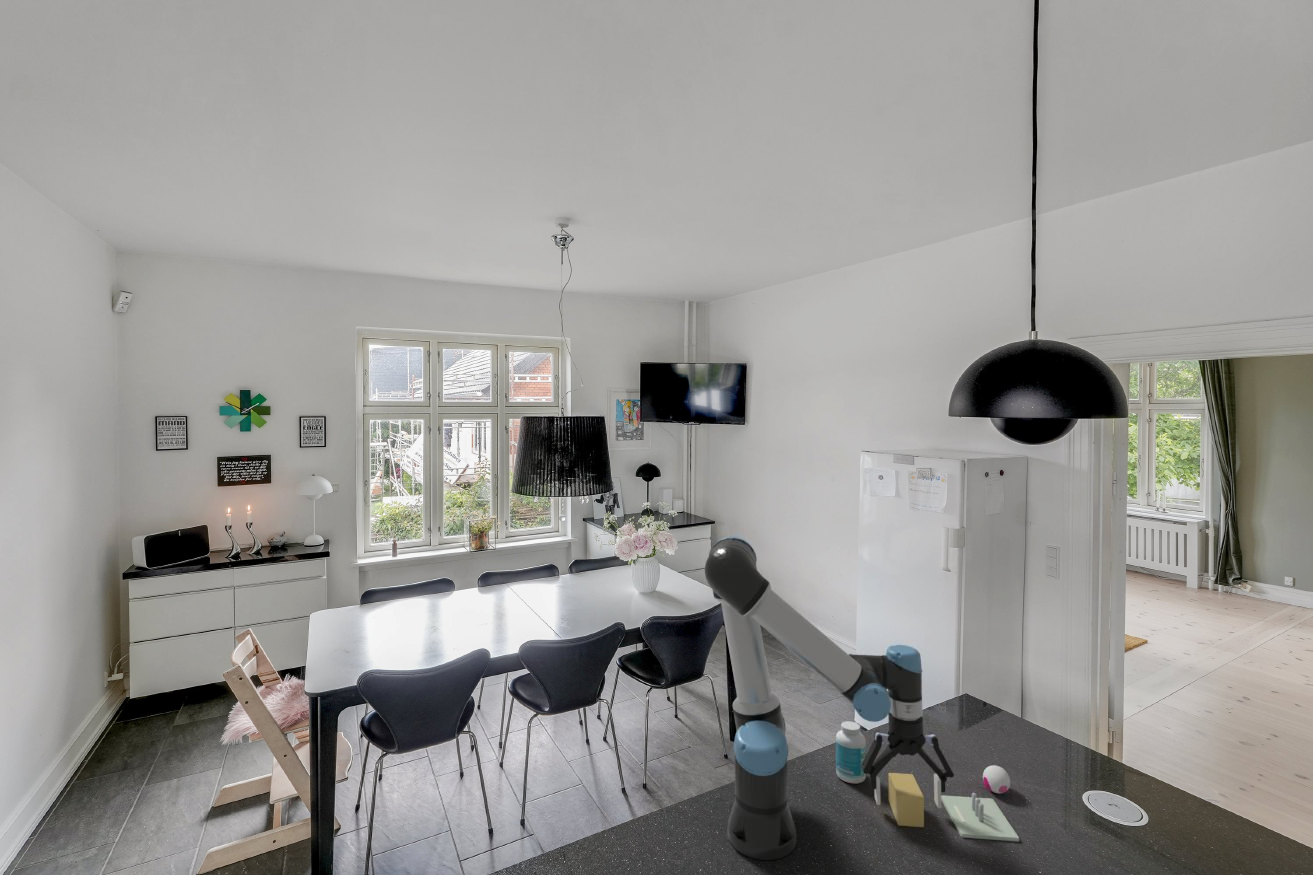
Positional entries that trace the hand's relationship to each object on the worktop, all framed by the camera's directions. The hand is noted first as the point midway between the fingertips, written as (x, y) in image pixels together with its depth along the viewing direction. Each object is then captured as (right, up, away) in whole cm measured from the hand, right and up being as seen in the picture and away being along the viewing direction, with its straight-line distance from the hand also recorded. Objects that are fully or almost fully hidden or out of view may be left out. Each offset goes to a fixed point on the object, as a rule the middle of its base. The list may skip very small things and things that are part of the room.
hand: (907, 803), depth 142 cm
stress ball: (+25, -2, +9) cm, 27 cm away
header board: (+15, -2, -2) cm, 16 cm away
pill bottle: (-8, -3, +15) cm, 18 cm away
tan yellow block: (0, -3, 0) cm, 3 cm away
